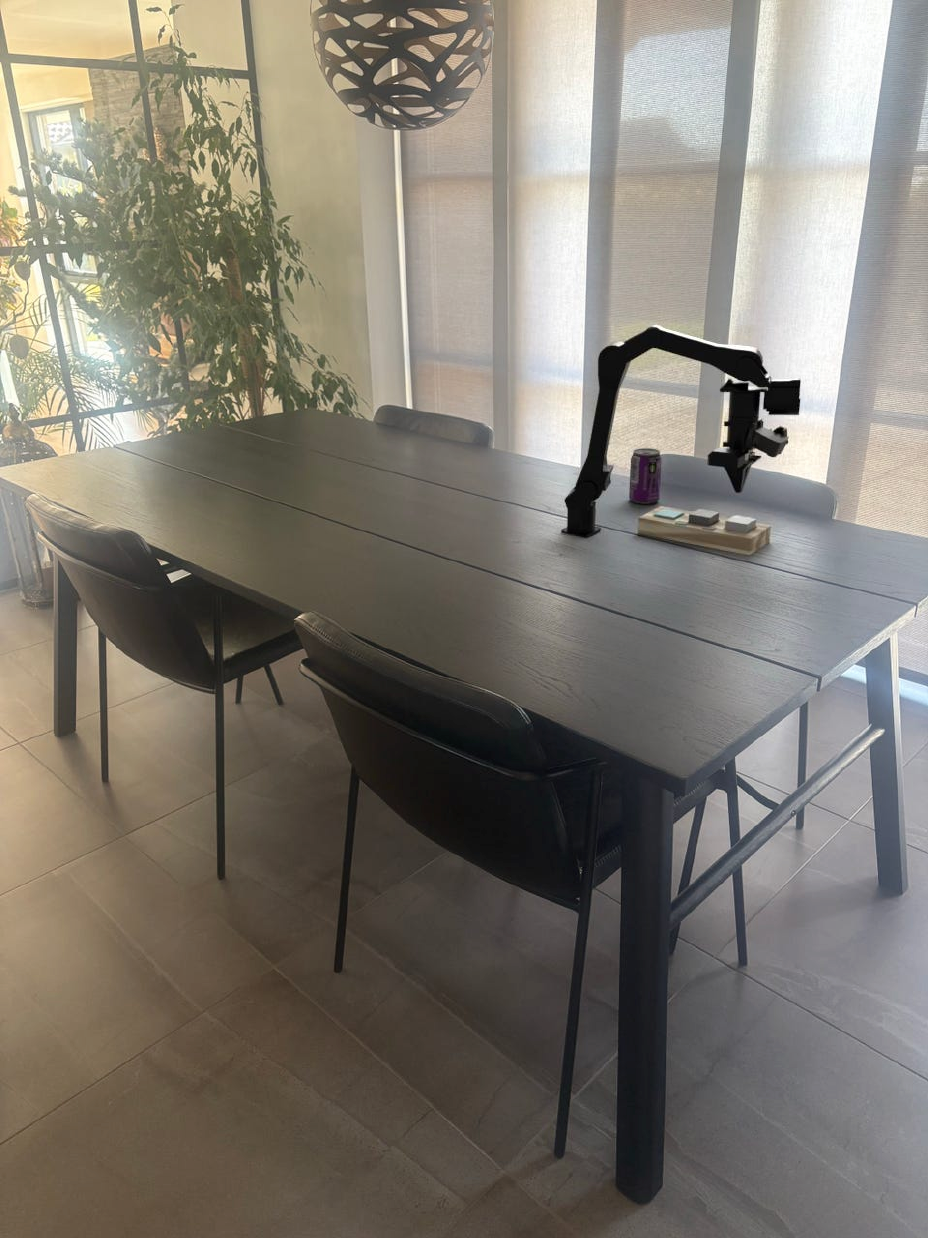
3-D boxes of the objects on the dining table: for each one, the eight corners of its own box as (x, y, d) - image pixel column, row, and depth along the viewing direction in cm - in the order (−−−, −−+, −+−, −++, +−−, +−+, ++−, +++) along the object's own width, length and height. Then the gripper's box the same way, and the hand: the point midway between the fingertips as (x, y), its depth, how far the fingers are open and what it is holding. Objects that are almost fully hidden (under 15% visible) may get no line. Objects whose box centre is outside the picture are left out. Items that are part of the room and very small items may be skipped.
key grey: (745, 538, 187) (747, 524, 186) (724, 534, 190) (725, 520, 189) (754, 532, 190) (756, 518, 189) (733, 528, 193) (734, 514, 192)
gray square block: (708, 531, 192) (709, 517, 191) (688, 527, 194) (689, 514, 193) (718, 526, 195) (719, 512, 194) (697, 522, 198) (698, 508, 196)
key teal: (672, 531, 197) (673, 517, 196) (653, 527, 200) (654, 513, 198) (682, 525, 200) (683, 512, 199) (663, 521, 203) (664, 508, 202)
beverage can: (659, 505, 217) (662, 455, 212) (628, 504, 219) (630, 454, 214) (659, 497, 224) (662, 448, 219) (629, 496, 225) (631, 447, 220)
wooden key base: (749, 555, 185) (751, 537, 183) (637, 533, 199) (638, 516, 198) (769, 541, 192) (771, 524, 190) (659, 521, 206) (660, 505, 205)
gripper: (765, 427, 170) (759, 509, 176) (801, 409, 183) (795, 486, 189) (708, 422, 177) (704, 501, 183) (747, 405, 190) (742, 479, 196)
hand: (738, 492), depth 188 cm, fingers closed
